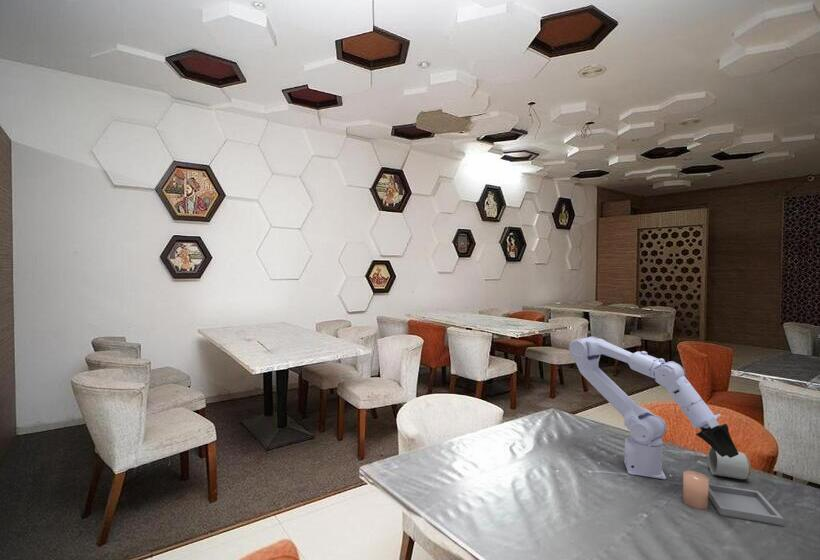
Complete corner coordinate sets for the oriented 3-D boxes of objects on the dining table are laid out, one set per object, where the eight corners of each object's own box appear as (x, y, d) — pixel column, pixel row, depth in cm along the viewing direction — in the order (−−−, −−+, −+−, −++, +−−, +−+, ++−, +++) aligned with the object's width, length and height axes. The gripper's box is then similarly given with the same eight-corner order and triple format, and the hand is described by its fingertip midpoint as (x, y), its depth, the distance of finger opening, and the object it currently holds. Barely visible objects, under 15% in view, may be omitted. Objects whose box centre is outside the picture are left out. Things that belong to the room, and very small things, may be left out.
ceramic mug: (752, 485, 110) (753, 457, 110) (716, 479, 113) (717, 452, 113) (736, 467, 120) (737, 442, 120) (703, 463, 123) (704, 438, 123)
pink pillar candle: (686, 506, 100) (686, 479, 100) (680, 495, 105) (680, 469, 105) (711, 511, 98) (712, 482, 98) (704, 499, 103) (704, 472, 103)
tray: (720, 515, 97) (720, 508, 97) (703, 489, 108) (703, 482, 108) (783, 526, 93) (783, 518, 92) (758, 498, 104) (758, 491, 104)
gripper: (713, 395, 101) (755, 449, 94) (700, 400, 113) (737, 448, 107) (685, 407, 102) (725, 461, 96) (676, 411, 115) (711, 459, 108)
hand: (730, 455), depth 101 cm, fingers open, 7 cm apart
